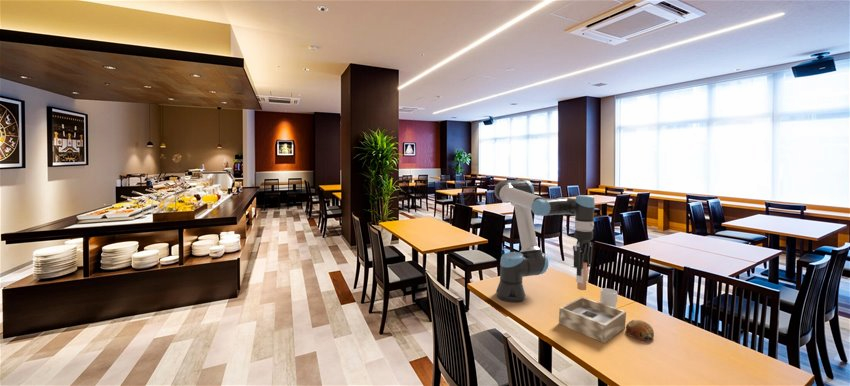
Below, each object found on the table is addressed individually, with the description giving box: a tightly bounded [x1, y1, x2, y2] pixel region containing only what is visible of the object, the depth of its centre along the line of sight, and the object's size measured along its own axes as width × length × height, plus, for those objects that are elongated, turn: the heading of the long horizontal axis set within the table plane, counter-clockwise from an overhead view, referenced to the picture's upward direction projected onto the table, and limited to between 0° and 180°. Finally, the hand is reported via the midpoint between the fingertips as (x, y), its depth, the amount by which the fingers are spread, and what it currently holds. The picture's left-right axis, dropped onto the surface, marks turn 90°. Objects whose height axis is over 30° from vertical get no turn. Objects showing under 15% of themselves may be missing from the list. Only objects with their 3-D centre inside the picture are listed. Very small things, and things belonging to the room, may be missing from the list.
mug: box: [599, 287, 618, 308], centre depth 160 cm, size 10×7×12 cm, turn 116°
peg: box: [576, 262, 587, 291], centre depth 150 cm, size 4×4×12 cm
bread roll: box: [625, 319, 655, 342], centre depth 142 cm, size 10×10×8 cm
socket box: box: [558, 296, 627, 344], centre depth 149 cm, size 20×20×8 cm
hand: (582, 281), depth 150 cm, fingers closed on peg, 3 cm apart
